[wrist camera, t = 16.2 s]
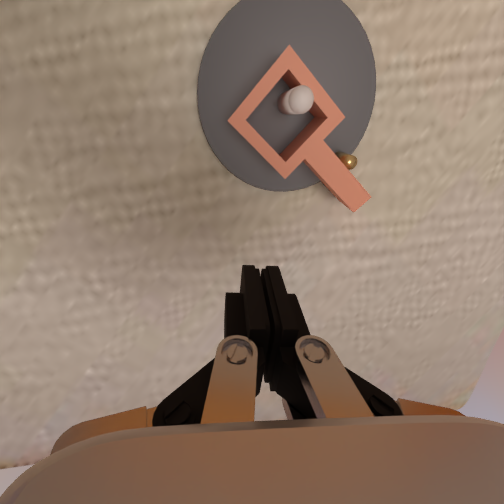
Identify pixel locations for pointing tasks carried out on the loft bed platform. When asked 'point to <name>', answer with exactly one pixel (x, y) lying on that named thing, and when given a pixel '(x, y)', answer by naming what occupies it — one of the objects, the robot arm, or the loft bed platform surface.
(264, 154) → the orange square loop
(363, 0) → the loft bed platform surface
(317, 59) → the post base
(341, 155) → the dowel pin
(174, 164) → the loft bed platform surface
